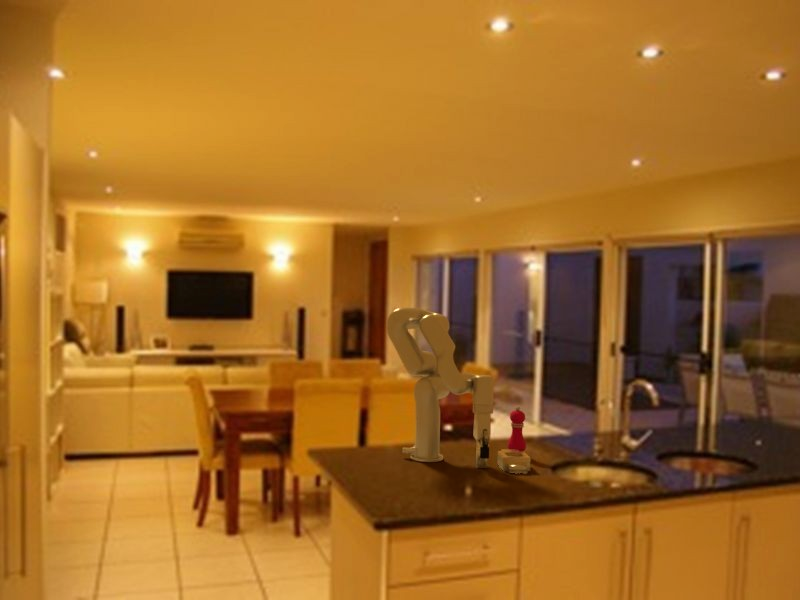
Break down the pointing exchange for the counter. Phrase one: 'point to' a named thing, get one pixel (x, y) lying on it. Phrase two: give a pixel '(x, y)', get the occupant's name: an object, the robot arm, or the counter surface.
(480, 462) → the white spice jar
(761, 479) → the counter surface
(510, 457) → the beige stand
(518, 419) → the pepper mill
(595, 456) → the counter surface
